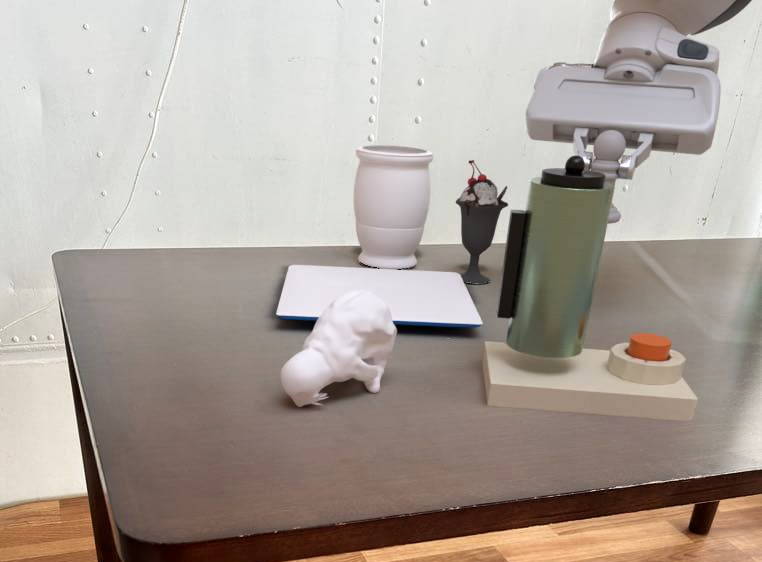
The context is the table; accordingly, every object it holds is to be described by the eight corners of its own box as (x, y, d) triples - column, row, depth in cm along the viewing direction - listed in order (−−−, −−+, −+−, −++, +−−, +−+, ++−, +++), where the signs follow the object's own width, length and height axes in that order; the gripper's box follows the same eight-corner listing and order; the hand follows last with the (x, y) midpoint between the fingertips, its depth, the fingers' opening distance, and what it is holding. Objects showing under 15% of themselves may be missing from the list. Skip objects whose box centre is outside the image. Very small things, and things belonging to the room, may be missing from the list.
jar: (434, 262, 120) (444, 150, 112) (408, 276, 112) (417, 156, 104) (368, 252, 124) (374, 142, 116) (338, 265, 115) (342, 148, 108)
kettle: (573, 329, 81) (607, 150, 72) (587, 361, 72) (627, 163, 64) (490, 323, 81) (514, 144, 73) (495, 354, 73) (523, 156, 64)
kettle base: (660, 375, 82) (670, 336, 80) (691, 422, 72) (704, 379, 70) (481, 362, 83) (487, 323, 81) (487, 406, 73) (493, 363, 71)
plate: (481, 341, 89) (483, 322, 88) (275, 331, 88) (275, 312, 87) (458, 287, 108) (460, 271, 107) (289, 279, 107) (289, 263, 106)
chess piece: (585, 213, 94) (600, 126, 90) (628, 221, 91) (646, 131, 87) (562, 218, 91) (577, 128, 86) (606, 226, 88) (624, 133, 83)
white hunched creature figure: (404, 291, 71) (312, 333, 64) (402, 382, 76) (317, 430, 69) (348, 277, 74) (255, 315, 67) (350, 365, 79) (263, 409, 72)
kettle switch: (662, 353, 77) (666, 334, 76) (671, 365, 74) (676, 346, 73) (623, 350, 77) (627, 331, 76) (630, 362, 74) (635, 343, 73)
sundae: (437, 277, 112) (449, 158, 104) (470, 271, 116) (484, 156, 108) (472, 288, 108) (487, 165, 100) (506, 282, 112) (523, 162, 104)
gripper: (540, 39, 91) (507, 143, 88) (735, 49, 85) (706, 161, 82) (542, 84, 97) (511, 183, 94) (724, 96, 91) (696, 202, 88)
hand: (603, 173), depth 88 cm, fingers closed on chess piece, 3 cm apart
